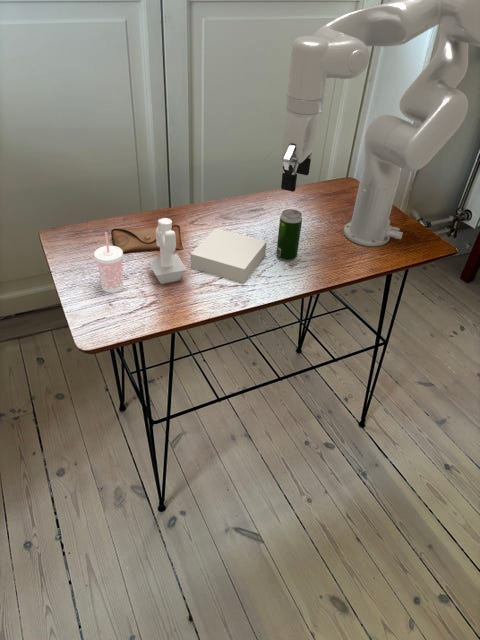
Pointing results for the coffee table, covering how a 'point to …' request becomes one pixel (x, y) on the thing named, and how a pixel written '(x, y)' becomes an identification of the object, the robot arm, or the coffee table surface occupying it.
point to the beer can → (289, 235)
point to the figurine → (166, 254)
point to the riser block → (228, 255)
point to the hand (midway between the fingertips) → (295, 181)
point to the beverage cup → (110, 266)
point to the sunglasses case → (140, 239)
